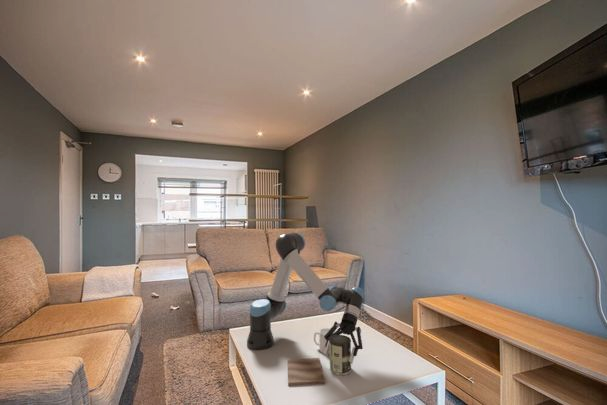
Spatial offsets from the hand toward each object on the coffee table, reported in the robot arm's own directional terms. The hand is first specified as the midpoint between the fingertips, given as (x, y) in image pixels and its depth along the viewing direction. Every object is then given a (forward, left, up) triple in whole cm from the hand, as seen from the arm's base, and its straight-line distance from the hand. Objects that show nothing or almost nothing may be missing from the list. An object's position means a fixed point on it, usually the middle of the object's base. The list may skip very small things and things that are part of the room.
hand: (337, 358), depth 137 cm
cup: (-22, -3, -6) cm, 23 cm away
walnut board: (-1, -15, -6) cm, 17 cm away
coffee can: (-2, +2, -6) cm, 7 cm away
